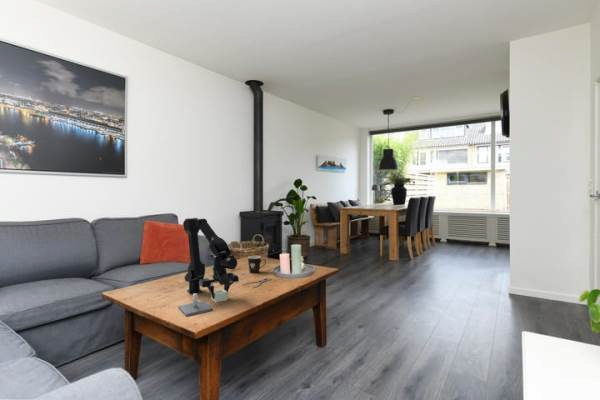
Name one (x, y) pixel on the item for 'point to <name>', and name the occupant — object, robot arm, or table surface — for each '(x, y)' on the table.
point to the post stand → (195, 307)
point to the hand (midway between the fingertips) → (219, 297)
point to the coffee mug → (254, 264)
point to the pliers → (259, 281)
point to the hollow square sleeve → (219, 295)
